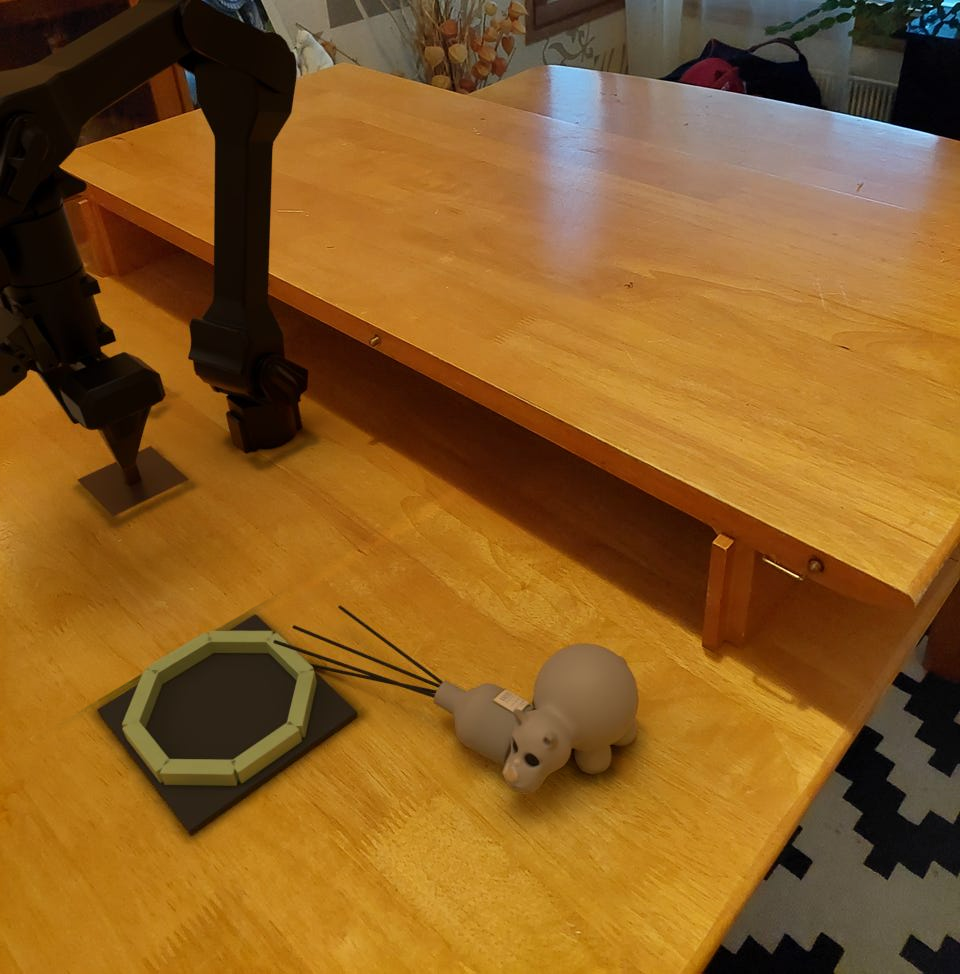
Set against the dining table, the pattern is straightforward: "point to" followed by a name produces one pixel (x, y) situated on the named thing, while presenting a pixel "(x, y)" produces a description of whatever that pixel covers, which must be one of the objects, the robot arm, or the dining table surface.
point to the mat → (226, 723)
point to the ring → (251, 758)
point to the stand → (132, 481)
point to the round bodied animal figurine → (573, 716)
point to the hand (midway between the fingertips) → (102, 443)
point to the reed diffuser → (448, 700)
